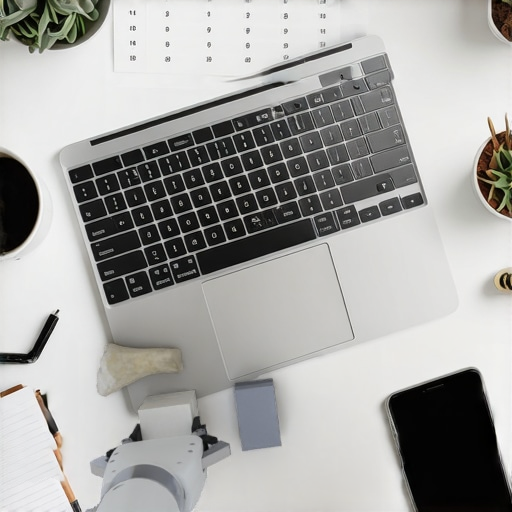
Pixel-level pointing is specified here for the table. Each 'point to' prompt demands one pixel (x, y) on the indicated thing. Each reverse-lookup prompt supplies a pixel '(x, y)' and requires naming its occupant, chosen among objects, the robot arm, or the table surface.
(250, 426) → the grey-blue block
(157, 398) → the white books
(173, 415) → the white book
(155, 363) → the stone
